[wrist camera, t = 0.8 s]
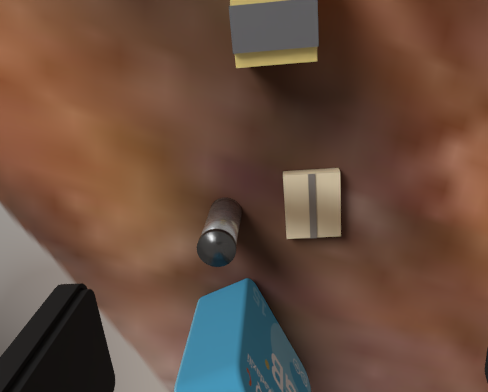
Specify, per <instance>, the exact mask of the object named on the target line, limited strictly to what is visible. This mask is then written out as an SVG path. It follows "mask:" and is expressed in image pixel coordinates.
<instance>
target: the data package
mask: <svg viewBox="0 0 488 392" xmlns="http://www.w3.org/2000/svg"><path fill="white" fill-rule="evenodd" d="M174 392H311V387H310V383H309V379H308V376H307V373H306V371H305V369H304V367H303V365H302V363H301V361H300V359H299V358H298V356H297V354H296V353H295V351H294V349H293V347H292V346H291V344H290V342H289V341H288V339H287V337H286V335H285V334H284V332H283V330H282V329H281V327H280V325H279V323H278V322H277V320H276V318H275V316H274V315H273V313H272V311H271V310H270V308H269V306H268V304H267V303H266V301H265V299H264V298H263V296H262V294H261V292H260V291H259V289H258V287H257V286H256V284H255V283H254V282H253V281H252V280H251V279H249V278H246V279H244V280H241V281H239V282H236V283H234V284H232V285H229V286H227V287H224V288H222V289H219V290H217V291H215V292H212V293H210V294H207V295H205V296H203V297H201V298H200V299H199V300H198V303H197V307H196V310H195V314H194V318H193V321H192V325H191V329H190V332H189V336H188V339H187V343H186V347H185V350H184V354H183V358H182V361H181V365H180V369H179V372H178V376H177V380H176V383H175V388H174Z"/></svg>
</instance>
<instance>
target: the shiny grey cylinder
mask: <svg viewBox="0 0 488 392" xmlns="http://www.w3.org/2000/svg"><path fill="white" fill-rule="evenodd" d="M241 214H242V211H241V207H240V205H239V204H238V203H237V202H236V201H235V200H233V199H231V198H220V199H218V200H216V201H215V202H214V203H213V204H212V206H211V209H210V211H209V214H208V217H207V220H206V223H205V226H204V229H203V232H202V235H201V237H200V239H199V241H198V244H197V253H198V255H199V257H200V259H201V260H202V261H203V262H204V263H206V264H208V265H210V266H214V267H221V266H225V265H227V264H229V263H230V262H231V261H232V260H233V258H234V256H235V253H236V243H237V237H238V232H239V226H240V220H241Z"/></svg>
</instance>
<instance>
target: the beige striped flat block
mask: <svg viewBox="0 0 488 392" xmlns="http://www.w3.org/2000/svg"><path fill="white" fill-rule="evenodd" d="M283 183H284V200H285V217H286V235H287V239H296V238H317V237H337V236H341V190H340V170H339V168H329V169H313V170H296V171H283Z"/></svg>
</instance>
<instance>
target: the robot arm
mask: <svg viewBox="0 0 488 392" xmlns="http://www.w3.org/2000/svg"><path fill="white" fill-rule="evenodd" d="M485 375H486V379H487V382H488V349H487V356H486V363H485ZM114 387H115V374H114V370H113V366H112V362H111V358H110V354H109V350H108V347H107V342H106V338H105V334H104V330H103V326H102V322H101V318H100V314H99V310H98V306H97V302H96V298H95V294H94V292H93V291H92V290H91V289H87V287H86V286H85V285H84V284H61V285H58V286H57V287H56V288H55V289H54V290H53V292H52V293H51V294H50V295H49V297H48V298H47V299H46V300H45V302H44V303H43V304H42V306H41V307H40V308H39V309H38V311H37V312H36V313H35V314H34V316H33V317H32V318H31V319H30V321H29V322H28V323H27V324H26V326H25V327H24V328H23V329H22V331H21V332H20V333H19V334H18V336H17V337H16V338H15V340H14V341H13V342H12V343H11V345H10V346H9V347H8V348H7V349H6V351H5V352H4V353H3V354H2V356H1V357H0V392H113V391H114Z"/></svg>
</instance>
